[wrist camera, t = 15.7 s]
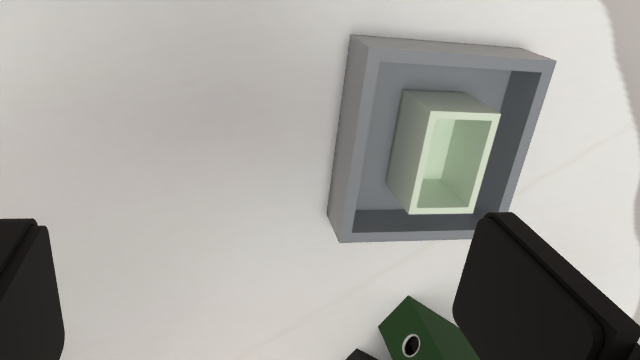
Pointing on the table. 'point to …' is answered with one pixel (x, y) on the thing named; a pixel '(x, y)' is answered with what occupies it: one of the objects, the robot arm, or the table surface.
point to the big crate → (380, 118)
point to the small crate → (440, 151)
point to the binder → (420, 336)
